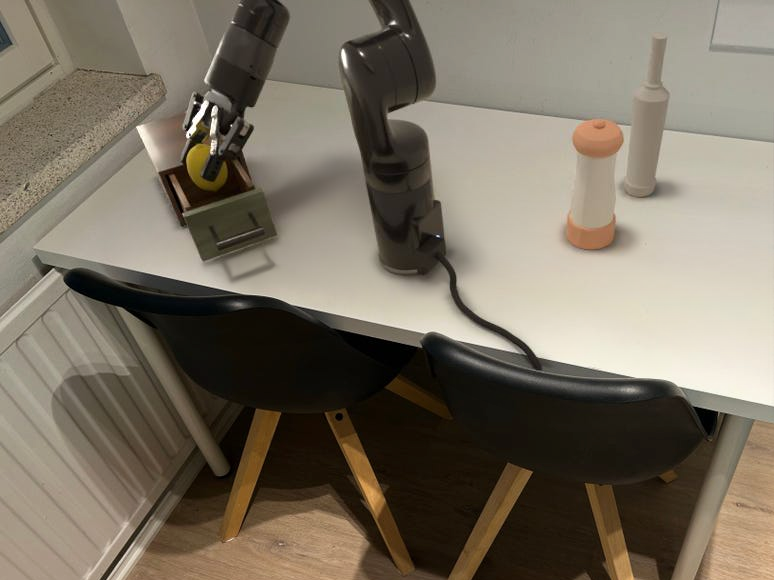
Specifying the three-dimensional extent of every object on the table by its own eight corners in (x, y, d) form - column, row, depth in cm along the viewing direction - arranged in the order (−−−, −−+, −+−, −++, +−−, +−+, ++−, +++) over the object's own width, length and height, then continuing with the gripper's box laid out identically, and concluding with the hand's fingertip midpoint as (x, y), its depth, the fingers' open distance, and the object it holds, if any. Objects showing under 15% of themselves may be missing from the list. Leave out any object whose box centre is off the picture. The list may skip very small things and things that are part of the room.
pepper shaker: (600, 216, 114) (610, 102, 100) (622, 242, 109) (636, 126, 95) (558, 228, 112) (563, 114, 98) (579, 254, 107) (587, 139, 93)
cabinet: (258, 200, 121) (240, 146, 114) (181, 226, 117) (157, 172, 110) (230, 156, 131) (213, 104, 124) (158, 178, 127) (136, 126, 120)
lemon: (224, 202, 109) (206, 155, 103) (191, 199, 110) (172, 153, 104) (239, 182, 112) (223, 135, 107) (207, 179, 113) (190, 133, 108)
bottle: (652, 200, 116) (675, 45, 98) (620, 195, 117) (637, 41, 99) (657, 182, 119) (681, 29, 101) (626, 178, 121) (644, 26, 102)
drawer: (289, 255, 109) (275, 209, 103) (213, 283, 105) (193, 237, 99) (248, 188, 122) (233, 145, 116) (178, 211, 118) (159, 167, 112)
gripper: (194, 40, 104) (150, 147, 108) (246, 68, 97) (198, 182, 100) (236, 63, 111) (194, 163, 114) (289, 91, 103) (242, 197, 107)
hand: (196, 171), depth 107 cm, fingers closed on lemon, 5 cm apart
